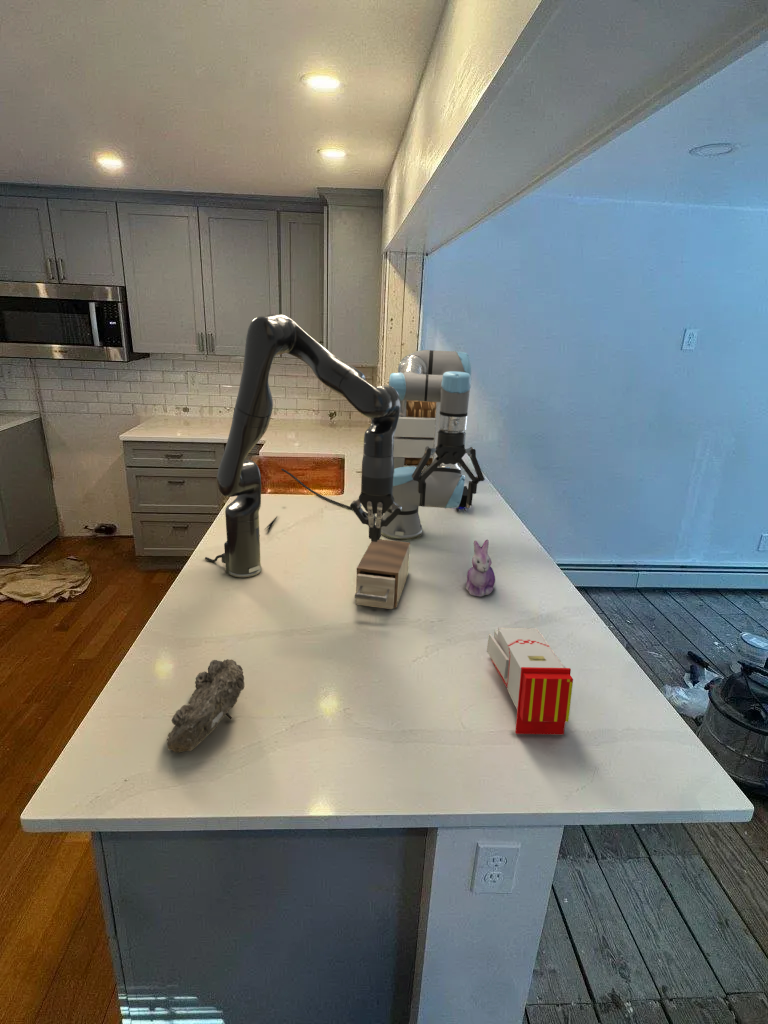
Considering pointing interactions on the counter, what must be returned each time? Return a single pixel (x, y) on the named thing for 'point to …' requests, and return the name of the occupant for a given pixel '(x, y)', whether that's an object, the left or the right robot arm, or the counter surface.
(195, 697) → the fossil
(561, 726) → the toy
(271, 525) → the feather
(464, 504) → the figurine character
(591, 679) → the counter surface
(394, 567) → the cabinet
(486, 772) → the counter surface
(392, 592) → the drawer
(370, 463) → the left robot arm
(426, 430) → the white boxy container
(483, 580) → the figurine
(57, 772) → the counter surface
